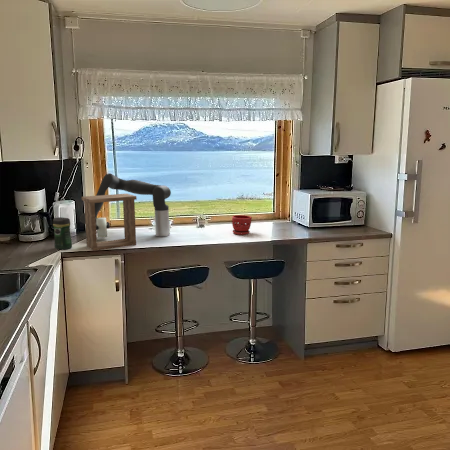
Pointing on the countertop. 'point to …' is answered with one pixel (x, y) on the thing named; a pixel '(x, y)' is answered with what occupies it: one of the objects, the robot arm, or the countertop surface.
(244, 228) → the plant pot
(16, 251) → the countertop surface
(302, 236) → the countertop surface
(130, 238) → the on counter shelf
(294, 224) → the countertop surface
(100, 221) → the white cylinder
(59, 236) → the coffee jar
